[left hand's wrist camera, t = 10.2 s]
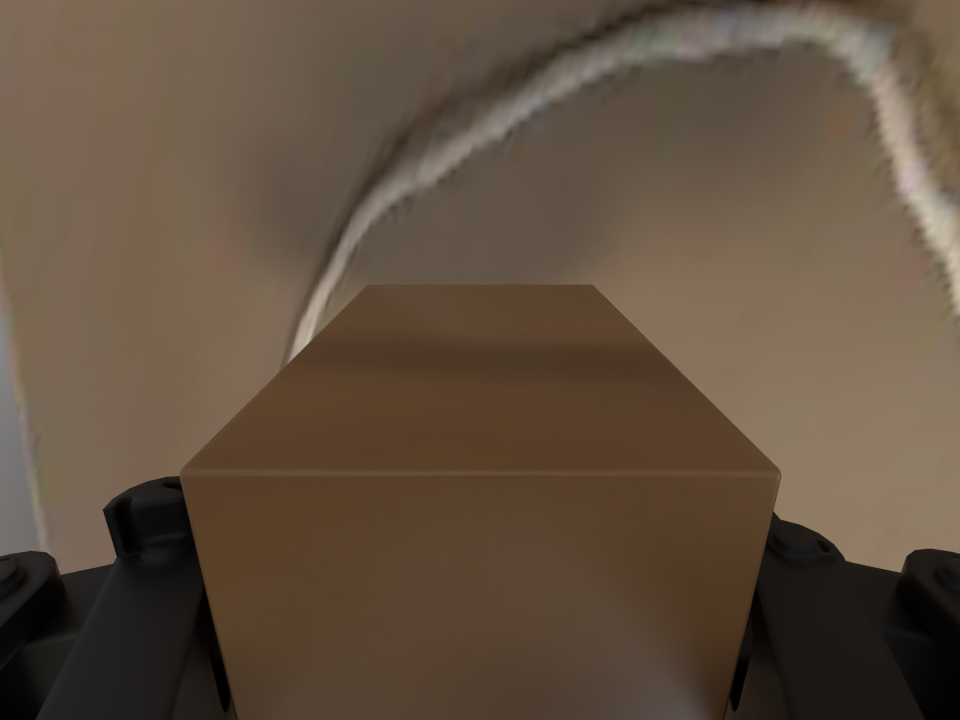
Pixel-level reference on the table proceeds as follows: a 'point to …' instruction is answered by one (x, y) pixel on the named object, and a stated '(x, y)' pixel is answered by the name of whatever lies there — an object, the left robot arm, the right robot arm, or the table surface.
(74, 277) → the table surface
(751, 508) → the bar
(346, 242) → the table surface
